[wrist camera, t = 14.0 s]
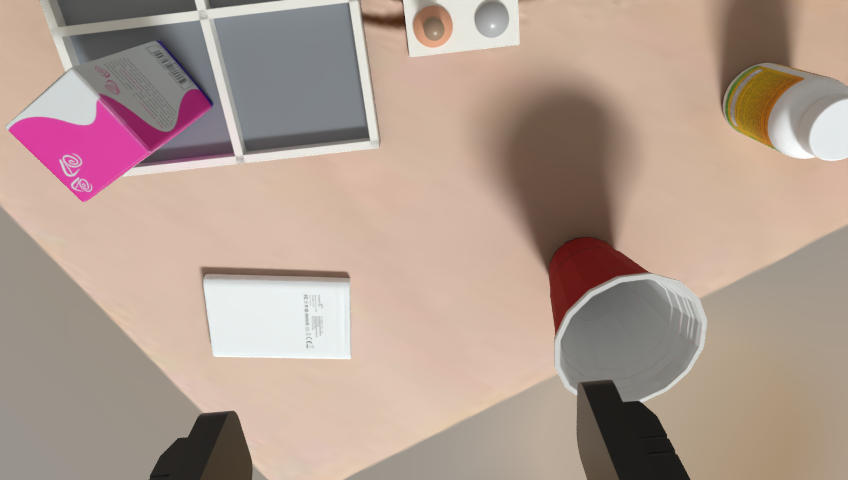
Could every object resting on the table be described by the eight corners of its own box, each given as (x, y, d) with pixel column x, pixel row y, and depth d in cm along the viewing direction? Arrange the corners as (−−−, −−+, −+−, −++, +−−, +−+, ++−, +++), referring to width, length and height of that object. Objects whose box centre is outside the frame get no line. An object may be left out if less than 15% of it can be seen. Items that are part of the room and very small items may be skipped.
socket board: (333, -187, 36) (329, -195, 34) (380, 140, 45) (379, 148, 43) (5, -145, 36) (-16, -151, 35) (116, 170, 45) (104, 178, 43)
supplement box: (100, 86, 42) (-3, 124, 31) (159, 37, 40) (72, 60, 30) (159, 150, 44) (81, 206, 33) (217, 105, 42) (154, 150, 32)
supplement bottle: (717, 137, 45) (791, 178, 36) (723, 67, 43) (803, 92, 34) (787, 127, 45) (878, 165, 36) (796, 56, 43) (896, 79, 34)
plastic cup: (653, 301, 52) (718, 389, 41) (535, 330, 53) (567, 424, 42) (639, 192, 47) (707, 259, 36) (510, 227, 48) (539, 301, 37)
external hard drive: (208, 270, 50) (351, 274, 50) (218, 347, 53) (352, 351, 54) (202, 279, 48) (349, 283, 49) (212, 358, 52) (350, 361, 52)
